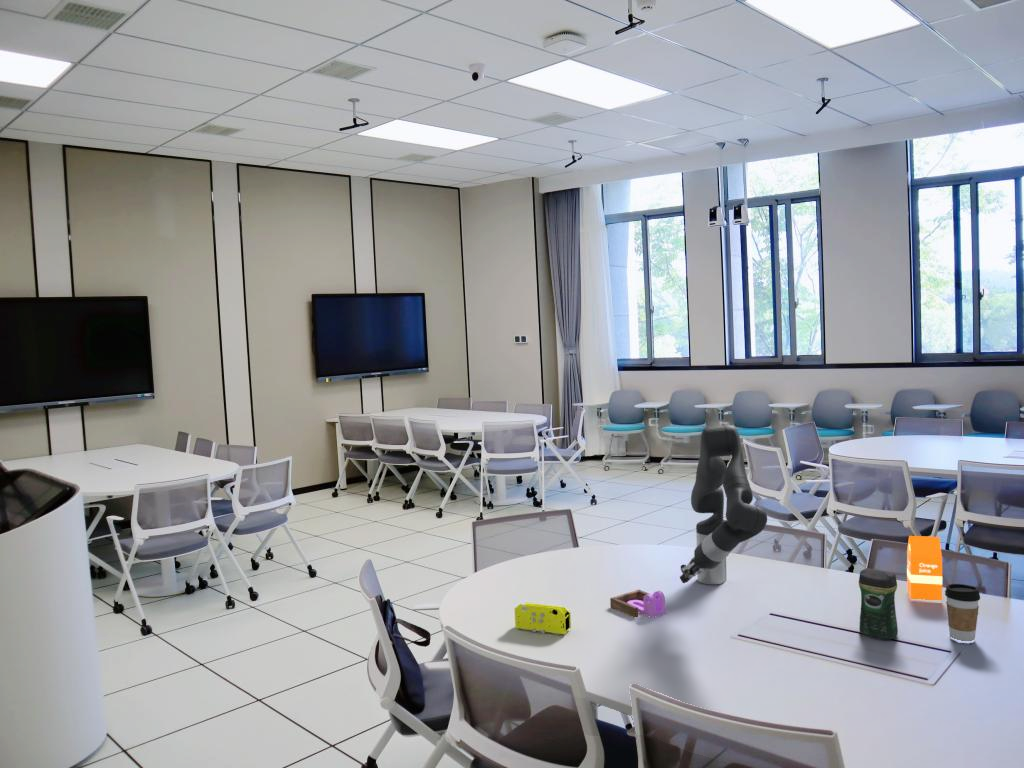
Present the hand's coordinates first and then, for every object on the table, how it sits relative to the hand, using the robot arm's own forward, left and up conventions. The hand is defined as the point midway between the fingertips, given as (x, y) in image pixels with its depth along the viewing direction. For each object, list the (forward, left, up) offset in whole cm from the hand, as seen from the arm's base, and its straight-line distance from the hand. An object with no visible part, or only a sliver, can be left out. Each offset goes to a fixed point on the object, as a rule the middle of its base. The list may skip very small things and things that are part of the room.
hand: (682, 580), depth 228 cm
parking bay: (0, -20, -14) cm, 25 cm away
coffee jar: (-38, +38, -15) cm, 56 cm away
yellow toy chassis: (+34, -25, -15) cm, 45 cm away
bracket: (0, -18, -15) cm, 23 cm away
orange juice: (-75, +31, -15) cm, 82 cm away
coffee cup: (-52, +54, -15) cm, 76 cm away
